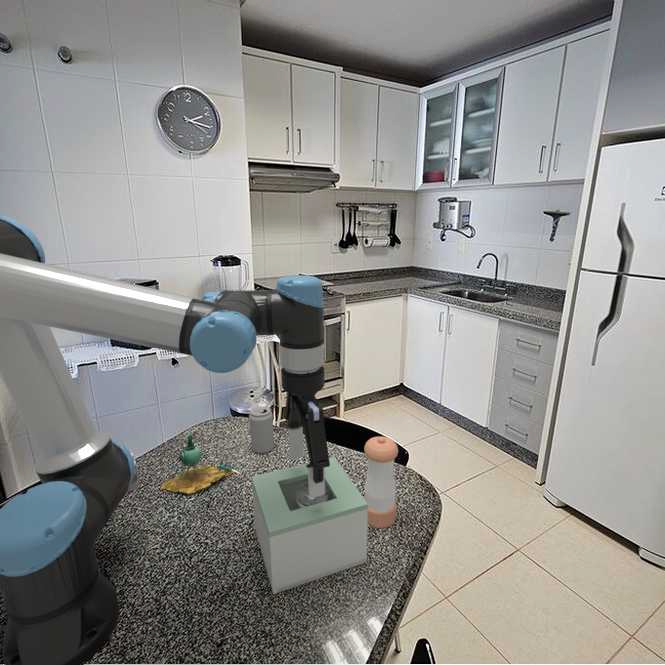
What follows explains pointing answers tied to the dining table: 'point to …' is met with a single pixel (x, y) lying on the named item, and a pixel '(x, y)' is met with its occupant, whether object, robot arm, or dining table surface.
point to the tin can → (304, 498)
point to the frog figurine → (195, 471)
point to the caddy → (308, 526)
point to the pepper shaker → (380, 481)
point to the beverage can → (261, 429)
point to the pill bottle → (134, 477)
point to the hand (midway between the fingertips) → (306, 475)
